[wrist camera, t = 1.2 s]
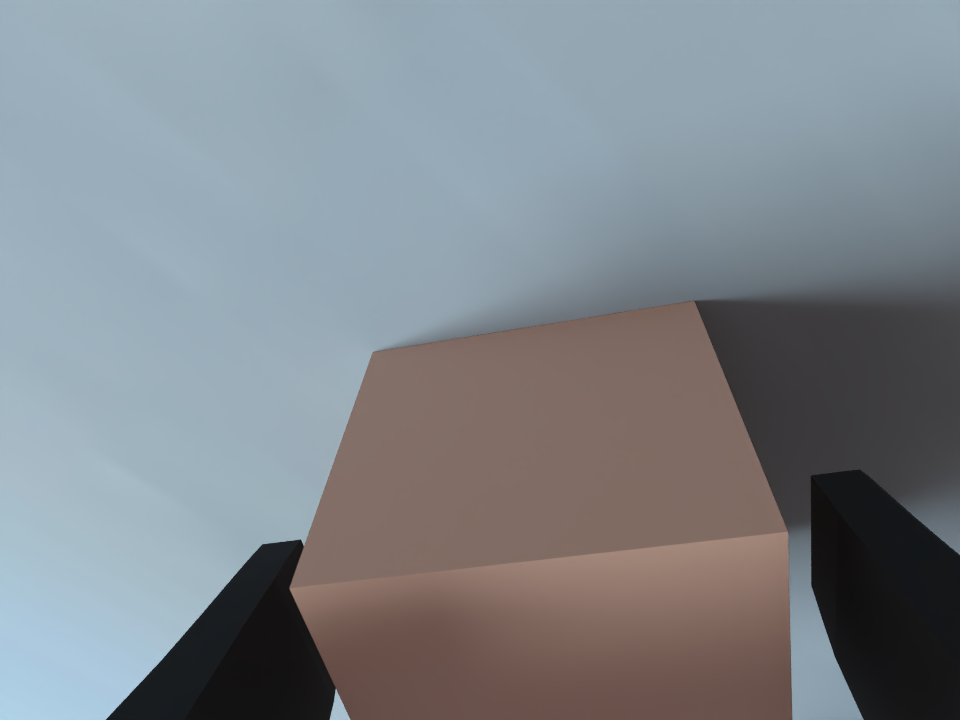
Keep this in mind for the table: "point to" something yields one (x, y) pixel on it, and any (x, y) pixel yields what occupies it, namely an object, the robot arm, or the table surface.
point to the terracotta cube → (551, 533)
